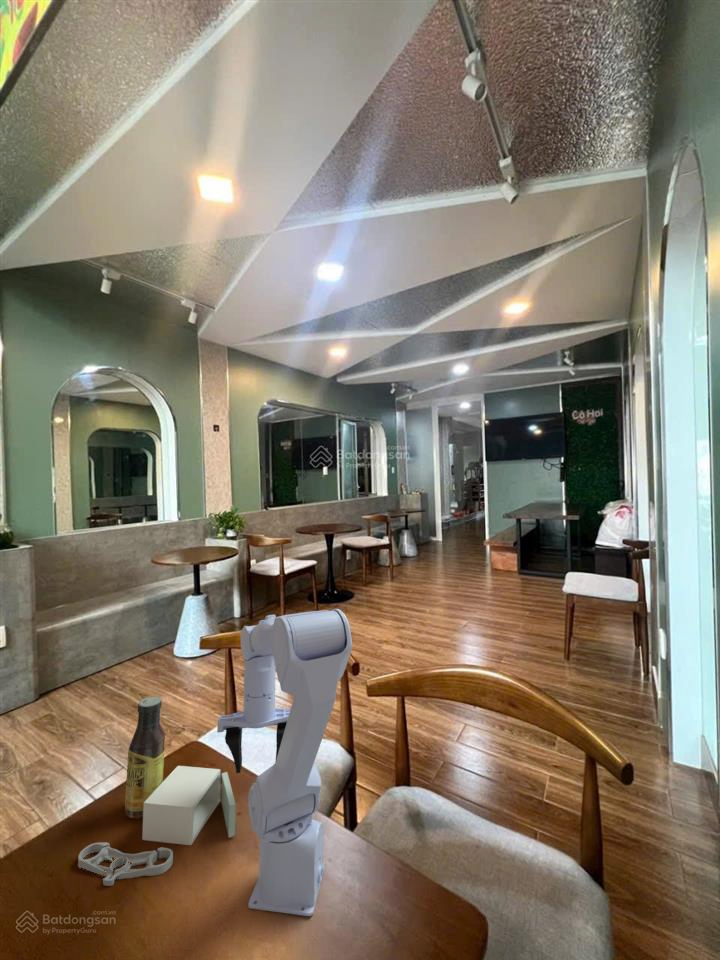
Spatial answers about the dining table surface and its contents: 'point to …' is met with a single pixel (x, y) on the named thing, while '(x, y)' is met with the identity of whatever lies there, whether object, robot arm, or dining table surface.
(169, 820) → the cabinet
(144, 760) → the sauce bottle
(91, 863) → the bracket
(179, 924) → the dining table surface
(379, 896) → the dining table surface
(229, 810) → the cabinet door
